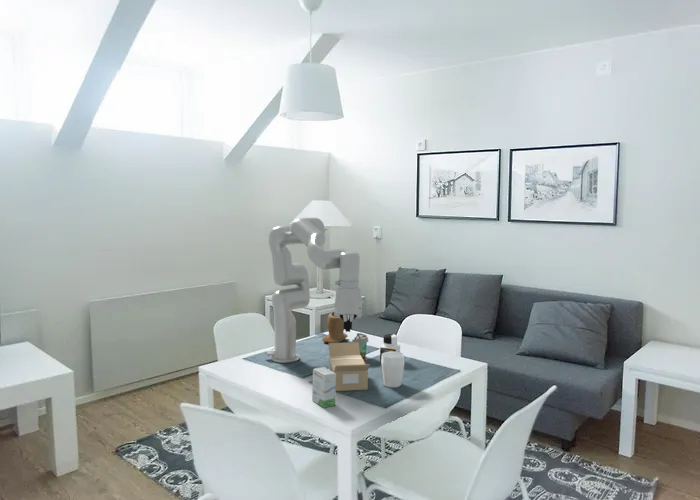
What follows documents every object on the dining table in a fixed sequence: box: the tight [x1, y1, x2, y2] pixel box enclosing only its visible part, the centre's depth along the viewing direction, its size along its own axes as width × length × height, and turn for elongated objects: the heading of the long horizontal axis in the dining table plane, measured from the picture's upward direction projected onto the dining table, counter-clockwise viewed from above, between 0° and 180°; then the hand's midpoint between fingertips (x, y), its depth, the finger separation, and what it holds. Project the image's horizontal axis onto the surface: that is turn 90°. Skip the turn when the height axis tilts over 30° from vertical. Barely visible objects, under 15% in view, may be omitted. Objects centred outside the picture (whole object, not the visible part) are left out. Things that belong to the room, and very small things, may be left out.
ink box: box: [311, 366, 337, 409], centre depth 190 cm, size 9×5×12 cm, turn 33°
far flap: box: [328, 341, 360, 356], centre depth 223 cm, size 13×6×1 cm
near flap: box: [334, 363, 371, 372], centre depth 200 cm, size 13×6×1 cm
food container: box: [351, 332, 369, 361], centre depth 243 cm, size 12×6×10 cm, turn 168°
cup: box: [380, 351, 405, 389], centre depth 209 cm, size 9×9×12 cm
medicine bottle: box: [379, 333, 401, 363], centre depth 238 cm, size 7×7×12 cm
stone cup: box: [321, 310, 349, 344], centre depth 271 cm, size 15×12×15 cm
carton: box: [328, 355, 369, 392], centre depth 212 cm, size 13×18×8 cm
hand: (347, 330), depth 207 cm, fingers closed
